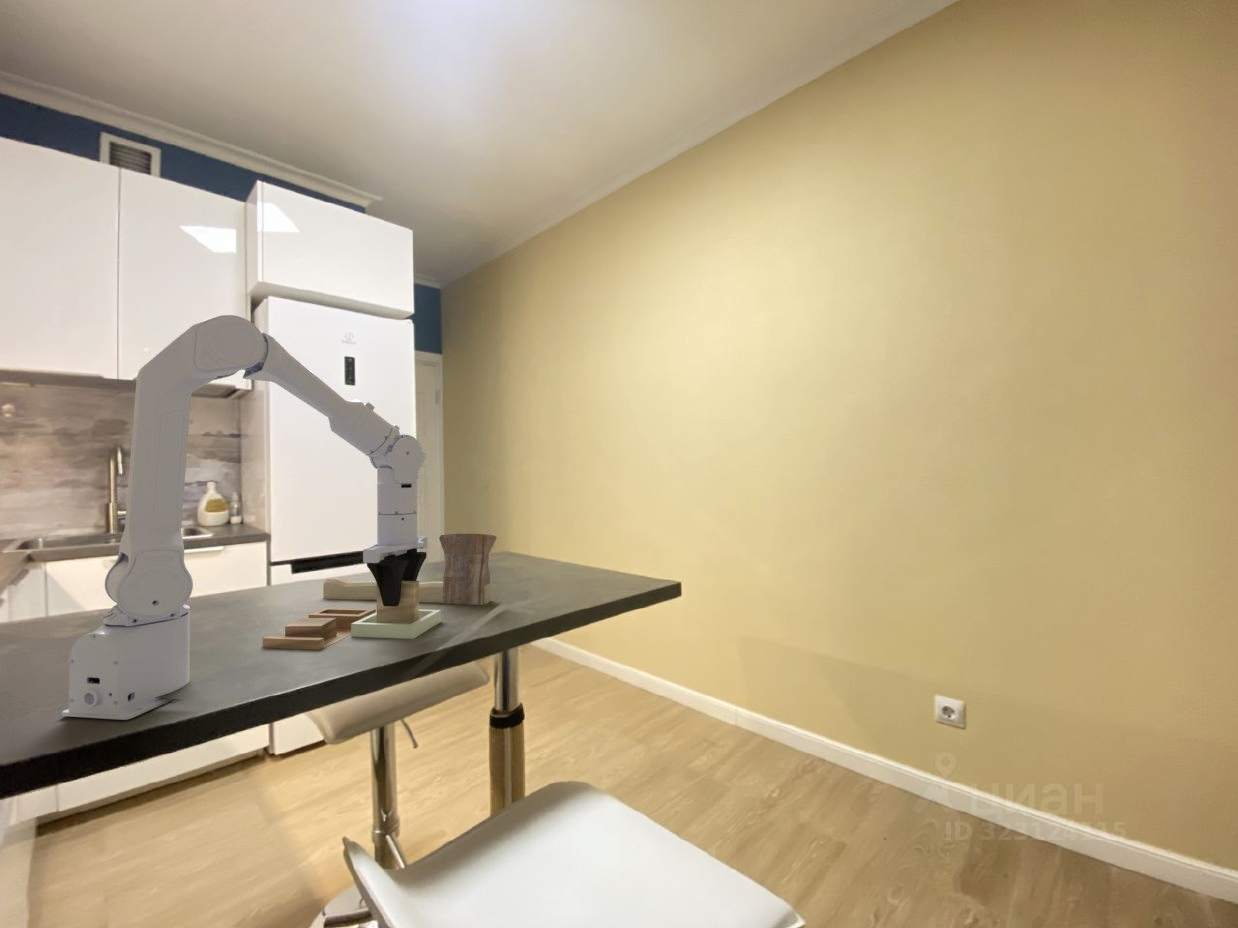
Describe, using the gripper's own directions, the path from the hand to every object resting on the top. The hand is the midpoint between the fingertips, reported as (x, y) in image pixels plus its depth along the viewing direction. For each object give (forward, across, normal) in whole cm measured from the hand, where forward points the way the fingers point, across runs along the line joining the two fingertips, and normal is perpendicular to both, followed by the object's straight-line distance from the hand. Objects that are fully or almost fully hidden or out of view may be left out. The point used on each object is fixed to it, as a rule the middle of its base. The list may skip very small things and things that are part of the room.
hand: (398, 602), depth 81 cm
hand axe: (+5, +17, +8) cm, 20 cm away
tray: (+5, 0, 0) cm, 5 cm away
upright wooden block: (+4, 0, 0) cm, 4 cm away
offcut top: (+3, -6, +10) cm, 12 cm away
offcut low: (+4, -6, +10) cm, 12 cm away
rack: (+5, -3, +10) cm, 11 cm away
